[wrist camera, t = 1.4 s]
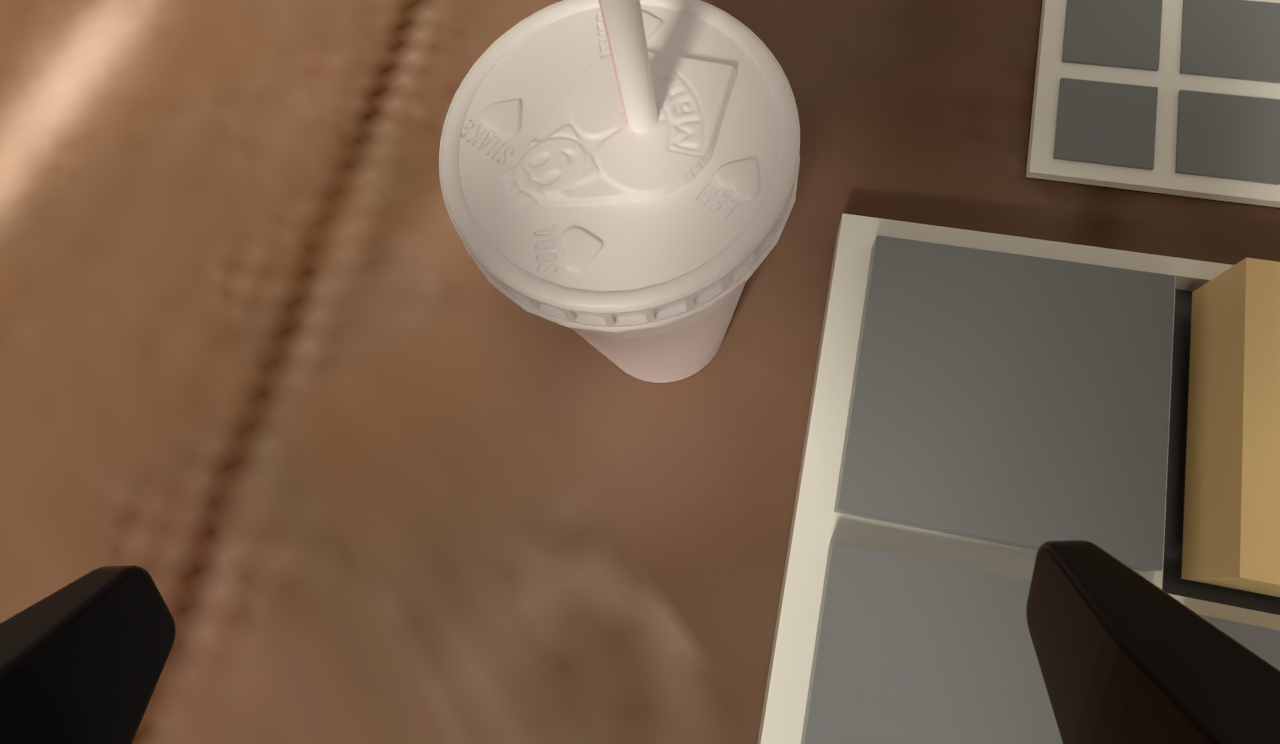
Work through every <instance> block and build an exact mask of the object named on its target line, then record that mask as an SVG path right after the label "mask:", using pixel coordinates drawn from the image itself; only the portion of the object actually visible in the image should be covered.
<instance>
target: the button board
mask: <svg viewBox="0 0 1280 744" xmlns="http://www.w3.org/2000/svg"><path fill="white" fill-rule="evenodd" d="M1232 266H1234V265H1229V264H1222V263H1214V262H1207V261H1199V260H1192V259H1184V258H1176V257H1169V256H1161V255H1154V254H1146V253H1139V252H1131V251H1123V250H1116V249H1108V248H1101V247H1093V246H1086V245H1078V244H1071V243H1063V242H1055V241H1048V240H1040V239H1033V238H1025V237H1018V236H1010V235H1002V234H995V233H987V232H980V231H972V230H965V229H957V228H949V227H942V226H934V225H927V224H919V223H912V222H904V221H897V220H889V219H881V218H874V217H866V216H859V215H851V214H844V213H843V214H842V218H841V221H840V224H839V228H838V231H837V236H836V243H835V249H834V256H833V262H832V268H831V275H830V281H829V288H828V294H827V300H826V307H825V313H824V320H823V326H822V333H821V339H820V345H819V352H818V358H817V365H816V371H815V377H814V384H813V390H812V397H811V403H810V410H809V416H808V422H807V429H806V435H805V442H804V448H803V454H802V461H801V467H800V474H799V480H798V487H797V493H796V499H795V506H794V512H793V519H792V525H791V531H790V538H789V544H788V551H787V557H786V564H785V570H784V576H783V583H782V589H781V596H780V602H779V608H778V615H777V621H776V628H775V634H774V641H773V647H772V653H771V660H770V666H769V673H768V679H767V685H766V692H765V698H764V705H763V711H762V718H761V724H760V730H759V737H758V743H757V744H1063V743H1062V739H1061V736H1060V733H1059V729H1058V726H1057V723H1056V719H1055V716H1054V713H1053V709H1052V706H1051V703H1050V699H1049V696H1048V693H1047V689H1046V686H1045V683H1044V679H1043V676H1042V673H1041V669H1040V666H1039V663H1038V659H1037V656H1036V653H1035V649H1034V646H1033V643H1032V639H1031V636H1030V633H1029V629H1028V624H1027V617H1026V605H1027V599H1028V594H1029V589H1030V584H1031V579H1032V574H1033V569H1034V564H1035V559H1036V554H1037V551H1038V549H1039V547H1040V546H1041V545H1042V544H1043V543H1045V542H1047V541H1067V540H1084V541H1089V542H1092V543H1094V544H1096V545H1097V546H1099V547H1100V548H1102V549H1103V550H1105V551H1106V552H1108V553H1109V554H1111V555H1112V556H1113V557H1115V558H1116V559H1118V560H1119V561H1121V562H1122V563H1124V564H1125V565H1127V566H1128V567H1130V568H1131V569H1133V570H1134V571H1135V572H1137V573H1138V574H1140V575H1141V576H1143V577H1144V578H1146V579H1147V580H1149V581H1150V582H1152V583H1153V584H1154V585H1156V586H1157V587H1159V588H1160V589H1162V590H1163V591H1165V592H1166V593H1168V594H1169V595H1171V596H1172V597H1173V598H1175V599H1176V600H1178V601H1179V602H1181V603H1182V604H1184V605H1185V606H1187V607H1188V608H1190V609H1191V610H1192V611H1194V612H1195V613H1197V614H1198V615H1200V616H1201V617H1203V618H1204V619H1206V620H1207V621H1209V622H1210V623H1211V624H1213V625H1214V626H1216V627H1217V628H1219V629H1220V630H1222V631H1223V632H1225V633H1226V634H1228V635H1229V636H1230V637H1232V638H1233V639H1235V640H1236V641H1238V642H1239V643H1241V644H1242V645H1244V646H1245V647H1247V648H1248V649H1249V650H1251V651H1252V652H1254V653H1255V654H1257V655H1258V656H1260V657H1261V658H1263V659H1264V660H1266V661H1267V662H1268V663H1270V664H1271V665H1273V666H1274V667H1276V668H1277V669H1279V670H1280V597H1275V596H1270V595H1265V594H1260V593H1254V592H1249V591H1244V590H1239V589H1233V588H1228V587H1223V586H1218V585H1213V584H1207V583H1202V582H1197V581H1192V580H1187V579H1181V575H1182V549H1183V522H1184V496H1185V470H1186V443H1187V417H1188V391H1189V364H1190V338H1191V312H1192V292H1193V291H1195V290H1196V289H1198V288H1200V287H1201V286H1203V285H1204V284H1206V283H1207V282H1209V281H1210V280H1212V279H1214V278H1215V277H1217V276H1218V275H1220V274H1221V273H1223V272H1224V271H1226V270H1228V269H1229V268H1231V267H1232Z"/></svg>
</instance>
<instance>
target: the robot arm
mask: <svg viewBox="0 0 1280 744" xmlns="http://www.w3.org/2000/svg"><path fill="white" fill-rule="evenodd" d="M1026 617H1027V624H1028V629H1029V633H1030V636H1031V639H1032V643H1033V646H1034V649H1035V653H1036V656H1037V659H1038V663H1039V666H1040V669H1041V673H1042V676H1043V679H1044V683H1045V686H1046V689H1047V693H1048V696H1049V699H1050V703H1051V706H1052V709H1053V713H1054V716H1055V719H1056V723H1057V726H1058V729H1059V733H1060V736H1061V739H1062V743H1063V744H1280V670H1279V669H1277V668H1276V667H1274V666H1273V665H1271V664H1270V663H1268V662H1267V661H1266V660H1264V659H1263V658H1261V657H1260V656H1258V655H1257V654H1255V653H1254V652H1252V651H1251V650H1249V649H1248V648H1247V647H1245V646H1244V645H1242V644H1241V643H1239V642H1238V641H1236V640H1235V639H1233V638H1232V637H1230V636H1229V635H1228V634H1226V633H1225V632H1223V631H1222V630H1220V629H1219V628H1217V627H1216V626H1214V625H1213V624H1211V623H1210V622H1209V621H1207V620H1206V619H1204V618H1203V617H1201V616H1200V615H1198V614H1197V613H1195V612H1194V611H1192V610H1191V609H1190V608H1188V607H1187V606H1185V605H1184V604H1182V603H1181V602H1179V601H1178V600H1176V599H1175V598H1173V597H1172V596H1171V595H1169V594H1168V593H1166V592H1165V591H1163V590H1162V589H1160V588H1159V587H1157V586H1156V585H1154V584H1153V583H1152V582H1150V581H1149V580H1147V579H1146V578H1144V577H1143V576H1141V575H1140V574H1138V573H1137V572H1135V571H1134V570H1133V569H1131V568H1130V567H1128V566H1127V565H1125V564H1124V563H1122V562H1121V561H1119V560H1118V559H1116V558H1115V557H1113V556H1112V555H1111V554H1109V553H1108V552H1106V551H1105V550H1103V549H1102V548H1100V547H1099V546H1097V545H1096V544H1094V543H1092V542H1089V541H1084V540H1067V541H1047V542H1045V543H1043V544H1042V545H1041V546H1040V547H1039V549H1038V551H1037V554H1036V559H1035V564H1034V569H1033V574H1032V579H1031V584H1030V589H1029V594H1028V599H1027V605H1026ZM174 639H175V622H174V619H173V617H172V615H171V613H170V611H169V609H168V607H167V605H166V604H165V602H164V600H163V598H162V596H161V594H160V592H159V590H158V589H157V587H156V585H155V583H154V581H153V579H152V577H151V576H150V574H149V573H148V572H147V571H146V570H145V569H143V568H142V567H138V566H107V567H101V568H98V569H95V570H93V571H91V572H90V573H88V574H86V575H84V576H83V577H81V578H79V579H77V580H76V581H74V582H72V583H70V584H69V585H67V586H65V587H64V588H62V589H60V590H58V591H57V592H55V593H53V594H51V595H50V596H48V597H46V598H44V599H43V600H41V601H39V602H37V603H36V604H34V605H32V606H30V607H29V608H27V609H25V610H23V611H22V612H20V613H18V614H16V615H15V616H13V617H11V618H9V619H8V620H6V621H4V622H2V623H1V624H0V744H132V742H133V739H134V737H135V735H136V732H137V730H138V727H139V725H140V723H141V720H142V718H143V715H144V713H145V711H146V708H147V706H148V703H149V701H150V699H151V696H152V694H153V692H154V689H155V687H156V684H157V682H158V680H159V677H160V675H161V672H162V670H163V668H164V665H165V663H166V660H167V658H168V656H169V653H170V651H171V648H172V646H173V643H174Z"/></svg>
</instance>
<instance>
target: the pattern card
mask: <svg viewBox="0 0 1280 744" xmlns="http://www.w3.org/2000/svg"><path fill="white" fill-rule="evenodd" d="M1026 177H1029V178H1037V179H1045V180H1054V181H1062V182H1070V183H1079V184H1087V185H1095V186H1104V187H1112V188H1120V189H1128V190H1137V191H1145V192H1153V193H1162V194H1170V195H1178V196H1186V197H1195V198H1203V199H1211V200H1220V201H1228V202H1236V203H1244V204H1253V205H1261V206H1269V207H1278V208H1280V0H1043V2H1042V12H1041V23H1040V33H1039V44H1038V54H1037V64H1036V75H1035V85H1034V96H1033V106H1032V117H1031V127H1030V138H1029V148H1028V159H1027V169H1026Z"/></svg>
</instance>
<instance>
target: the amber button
mask: <svg viewBox="0 0 1280 744" xmlns="http://www.w3.org/2000/svg"><path fill="white" fill-rule="evenodd" d="M1181 579H1187V580H1192V581H1197V582H1202V583H1207V584H1213V585H1218V586H1223V587H1228V588H1233V589H1239V590H1244V591H1249V592H1254V593H1260V594H1265V595H1270V596H1275V597H1280V262H1277V261H1269V260H1262V259H1254V258H1245V259H1243V260H1242V261H1240V262H1239V263H1237V264H1235V265H1234V266H1232V267H1231V268H1229V269H1228V270H1226V271H1224V272H1223V273H1221V274H1220V275H1218V276H1217V277H1215V278H1214V279H1212V280H1210V281H1209V282H1207V283H1206V284H1204V285H1203V286H1201V287H1200V288H1198V289H1196V290H1195V291H1193V292H1192V312H1191V338H1190V364H1189V391H1188V417H1187V443H1186V470H1185V496H1184V522H1183V549H1182V575H1181Z"/></svg>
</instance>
